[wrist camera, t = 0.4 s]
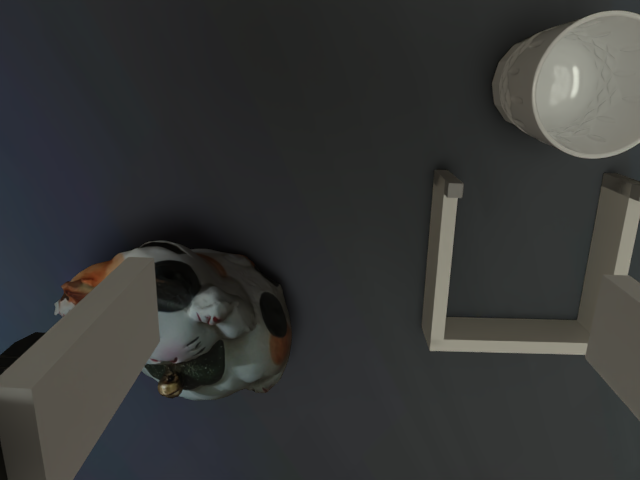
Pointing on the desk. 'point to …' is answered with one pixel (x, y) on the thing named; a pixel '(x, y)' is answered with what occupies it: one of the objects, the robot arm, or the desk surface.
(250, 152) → the desk surface
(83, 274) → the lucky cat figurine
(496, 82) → the white cup
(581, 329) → the open u-shaped frame
